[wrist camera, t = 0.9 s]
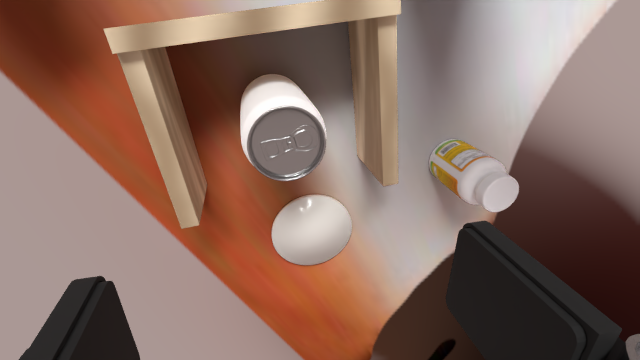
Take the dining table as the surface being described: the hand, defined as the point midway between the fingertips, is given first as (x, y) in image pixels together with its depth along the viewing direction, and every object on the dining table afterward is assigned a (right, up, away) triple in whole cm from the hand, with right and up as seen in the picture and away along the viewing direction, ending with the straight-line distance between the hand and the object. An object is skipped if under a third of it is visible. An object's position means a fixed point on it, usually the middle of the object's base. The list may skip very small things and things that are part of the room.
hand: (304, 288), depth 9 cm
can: (-4, +11, +25) cm, 28 cm away
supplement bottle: (+16, +6, +32) cm, 37 cm away
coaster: (-1, -3, +33) cm, 33 cm away
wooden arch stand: (-4, +10, +25) cm, 28 cm away
